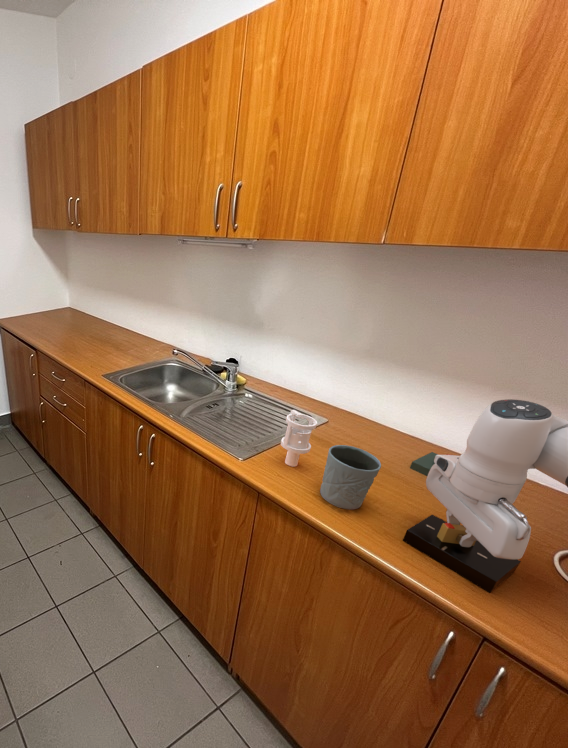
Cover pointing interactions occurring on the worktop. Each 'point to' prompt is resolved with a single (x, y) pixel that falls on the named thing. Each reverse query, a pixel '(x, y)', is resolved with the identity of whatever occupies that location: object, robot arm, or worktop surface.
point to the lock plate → (460, 555)
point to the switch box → (424, 463)
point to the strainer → (297, 437)
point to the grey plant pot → (348, 476)
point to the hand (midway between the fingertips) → (457, 538)
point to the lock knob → (451, 532)
